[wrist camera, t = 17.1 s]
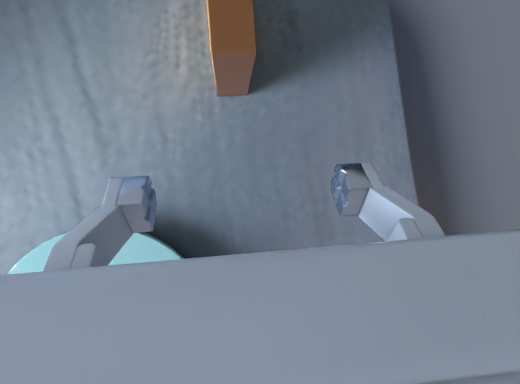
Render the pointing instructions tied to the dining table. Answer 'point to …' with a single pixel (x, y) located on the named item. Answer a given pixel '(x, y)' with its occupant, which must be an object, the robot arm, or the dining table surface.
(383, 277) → the robot arm
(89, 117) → the dining table surface
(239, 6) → the toast
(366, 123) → the dining table surface
